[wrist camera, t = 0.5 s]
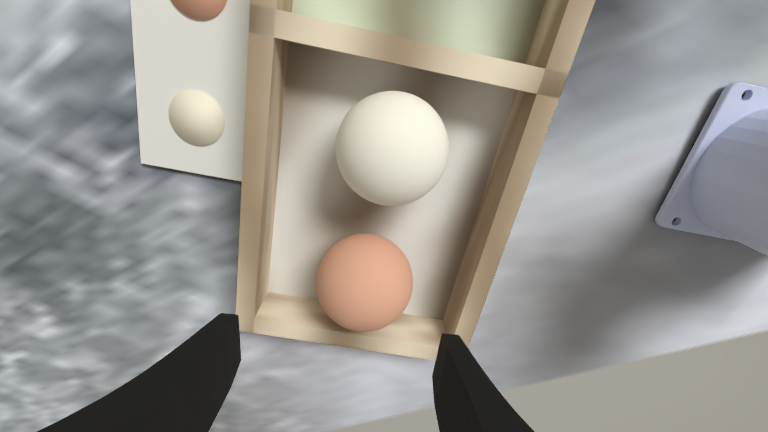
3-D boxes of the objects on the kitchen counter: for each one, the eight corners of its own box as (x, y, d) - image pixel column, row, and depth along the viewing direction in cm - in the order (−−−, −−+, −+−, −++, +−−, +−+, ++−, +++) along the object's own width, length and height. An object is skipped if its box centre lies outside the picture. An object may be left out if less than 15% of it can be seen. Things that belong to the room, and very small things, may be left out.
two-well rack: (688, -389, 12) (797, -550, 9) (451, 324, 24) (461, 364, 21) (312, -515, 11) (284, -746, 8) (255, 293, 23) (234, 330, 20)
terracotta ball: (418, 227, 20) (428, 274, 16) (399, 299, 22) (404, 361, 17) (330, 211, 20) (314, 254, 15) (318, 286, 22) (301, 345, 17)
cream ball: (451, 99, 18) (475, 110, 13) (426, 194, 19) (440, 233, 15) (350, 77, 17) (337, 82, 13) (335, 176, 19) (319, 212, 14)
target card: (273, -136, 15) (270, -141, 15) (254, 182, 20) (252, 184, 20) (123, -174, 14) (117, -179, 14) (144, 161, 20) (139, 163, 19)
